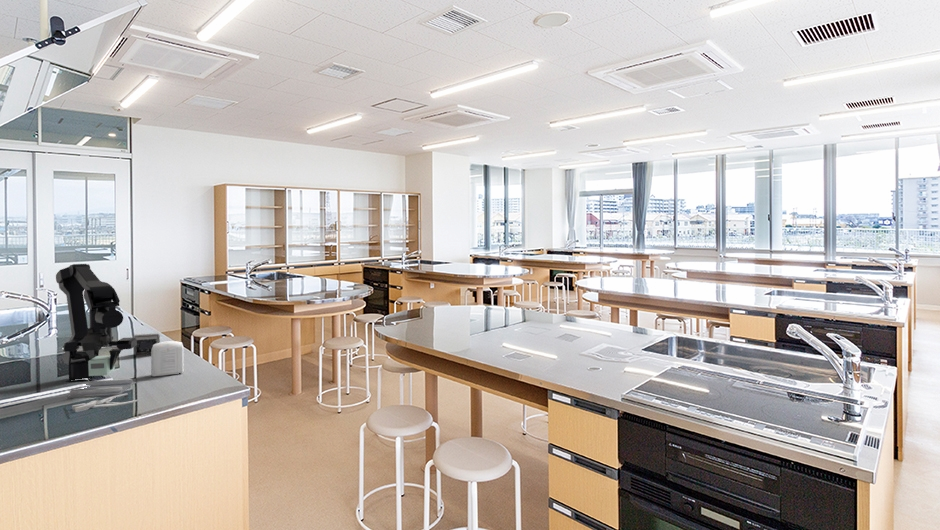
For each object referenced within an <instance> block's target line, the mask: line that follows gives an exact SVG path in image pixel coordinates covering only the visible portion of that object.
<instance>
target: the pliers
mask: <svg viewBox="0 0 940 530" xmlns="http://www.w3.org/2000/svg"><path fill="white" fill-rule="evenodd" d="M127 395H129V393H127V392H125V393H121V394H120V395H116V396H108V397H106V398H104V399H100V400H91V401H89V402H87V403H85V402H84V403H80V404H79V403H78V404H73V405H72V406H71V408H72V409H71V410H72V411H74V412H75V413H78V412H83V411H86V410H89V409H95V408H96V409H97V408H106V407H107V408H108V407H117V406H123V405H124V406H125V405H129V404H132V403H136V402H139V399H134V400H129V401H123V402H118V401H117V402H114V401H113V402H111V401H112V400H113V399H116V397H117V398H120V397H124V396H127Z"/></svg>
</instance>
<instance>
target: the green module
mask: <svg viewBox="0 0 940 530" xmlns="http://www.w3.org/2000/svg"><path fill="white" fill-rule="evenodd" d="M115 365H116V364H115ZM115 365H114V367H113V369H112V370H110V355H98V356H96V357H94V358H93V359H91V360H89V361H88V366H89V376H94V377H96V376H108V375H109V374H111V373H112V372H114V371H115V369H116V368H115Z"/></svg>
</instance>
